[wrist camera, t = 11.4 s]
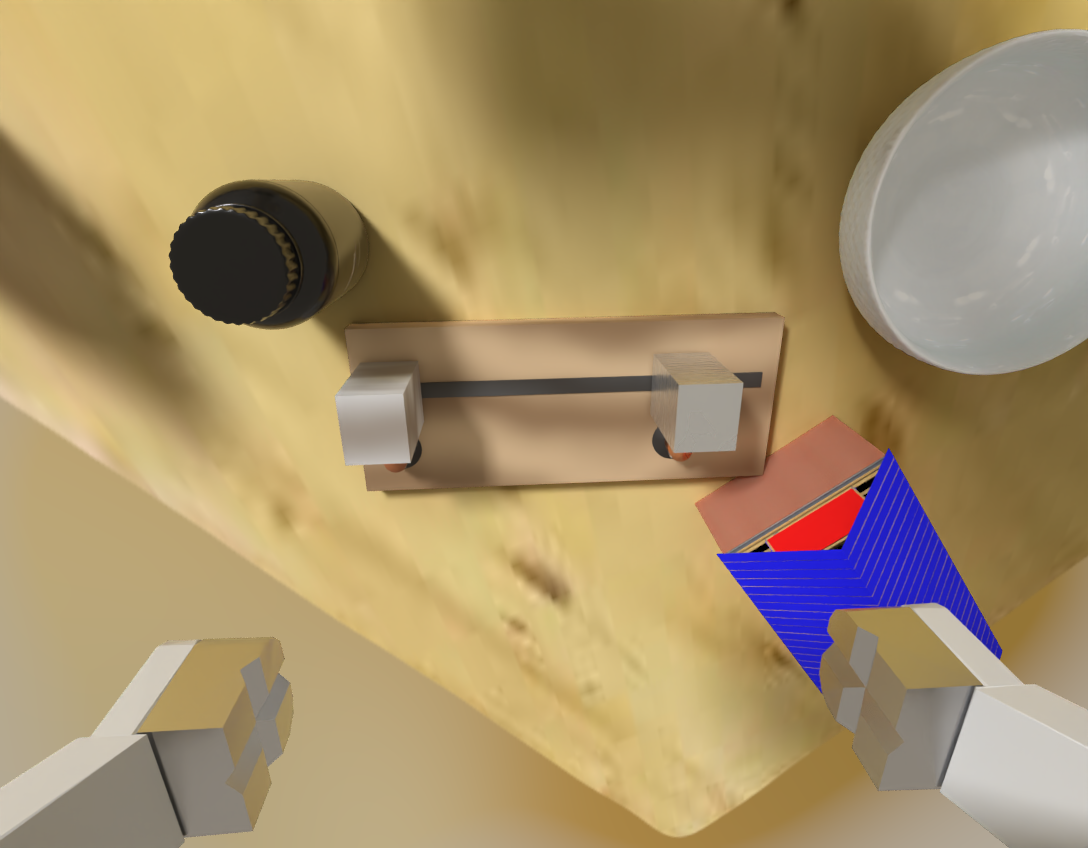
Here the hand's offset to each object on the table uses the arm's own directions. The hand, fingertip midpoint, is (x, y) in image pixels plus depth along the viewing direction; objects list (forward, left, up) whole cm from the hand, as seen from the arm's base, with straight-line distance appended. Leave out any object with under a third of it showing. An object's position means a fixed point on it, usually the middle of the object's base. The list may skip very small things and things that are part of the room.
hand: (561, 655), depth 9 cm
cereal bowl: (-4, +26, -31) cm, 41 cm away
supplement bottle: (-3, -12, -31) cm, 34 cm away
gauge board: (+7, +3, -31) cm, 32 cm away
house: (+20, +23, -32) cm, 44 cm away
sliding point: (+7, +10, -29) cm, 32 cm away
